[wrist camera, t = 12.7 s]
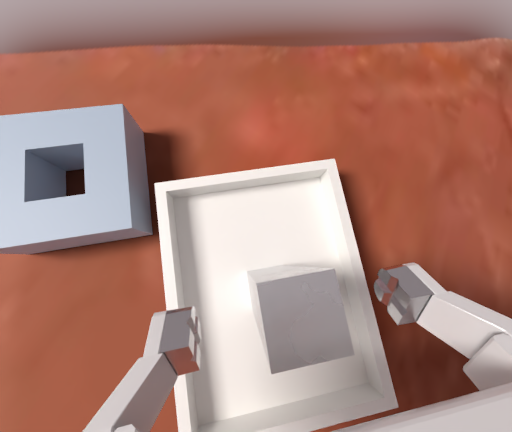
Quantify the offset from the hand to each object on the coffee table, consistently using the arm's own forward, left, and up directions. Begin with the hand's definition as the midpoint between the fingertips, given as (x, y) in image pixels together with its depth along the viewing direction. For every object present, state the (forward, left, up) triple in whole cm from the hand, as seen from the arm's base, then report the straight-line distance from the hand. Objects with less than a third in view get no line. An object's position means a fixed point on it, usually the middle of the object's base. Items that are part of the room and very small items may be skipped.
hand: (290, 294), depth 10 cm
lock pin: (0, +1, -9) cm, 9 cm away
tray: (0, +1, -10) cm, 10 cm away
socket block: (+14, -10, -10) cm, 20 cm away
